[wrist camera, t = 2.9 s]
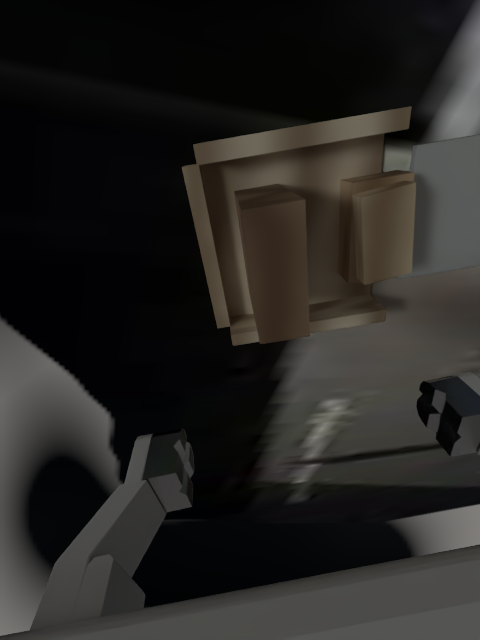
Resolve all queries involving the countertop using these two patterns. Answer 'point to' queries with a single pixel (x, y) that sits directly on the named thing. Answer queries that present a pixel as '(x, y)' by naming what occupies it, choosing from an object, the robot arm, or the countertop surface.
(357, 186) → the offcut lower
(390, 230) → the offcut upper
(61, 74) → the countertop surface
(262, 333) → the dark brown wood block
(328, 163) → the tray
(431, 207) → the mat
